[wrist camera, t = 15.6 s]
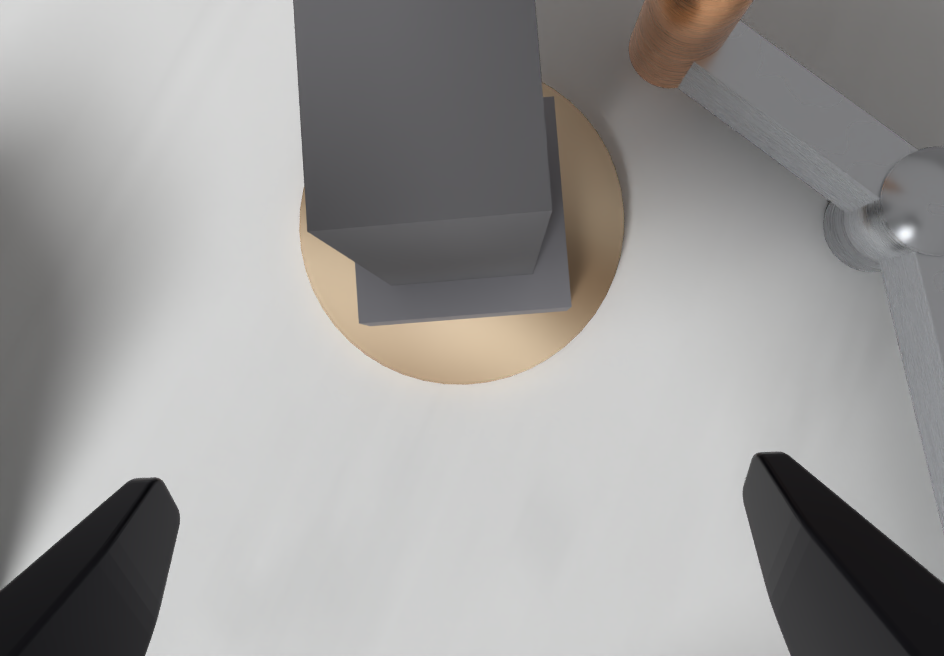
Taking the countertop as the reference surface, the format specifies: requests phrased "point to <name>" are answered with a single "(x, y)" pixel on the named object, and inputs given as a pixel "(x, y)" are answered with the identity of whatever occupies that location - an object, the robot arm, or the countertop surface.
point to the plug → (432, 156)
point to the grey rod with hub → (823, 172)
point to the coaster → (502, 337)
